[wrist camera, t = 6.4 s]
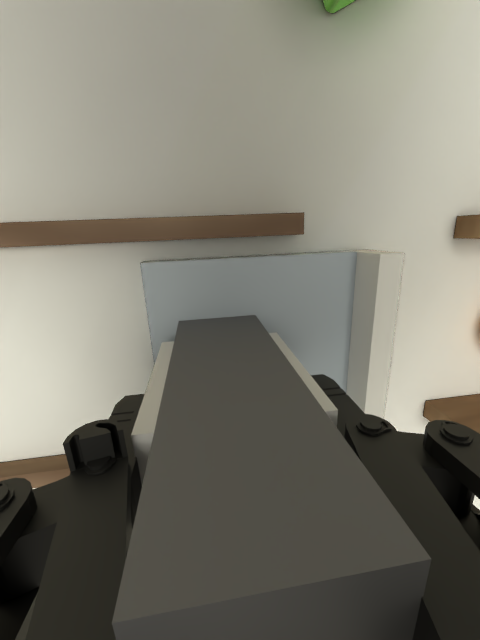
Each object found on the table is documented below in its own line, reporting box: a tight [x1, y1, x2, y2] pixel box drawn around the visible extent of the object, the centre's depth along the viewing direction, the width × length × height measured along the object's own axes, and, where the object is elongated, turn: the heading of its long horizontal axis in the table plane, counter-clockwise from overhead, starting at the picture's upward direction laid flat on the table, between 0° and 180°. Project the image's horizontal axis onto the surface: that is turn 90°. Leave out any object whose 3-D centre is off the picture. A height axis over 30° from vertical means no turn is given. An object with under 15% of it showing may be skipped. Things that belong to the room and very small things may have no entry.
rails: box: [0, 213, 304, 488], centre depth 15 cm, size 14×18×1 cm
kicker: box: [112, 250, 431, 640], centre depth 11 cm, size 10×12×13 cm
